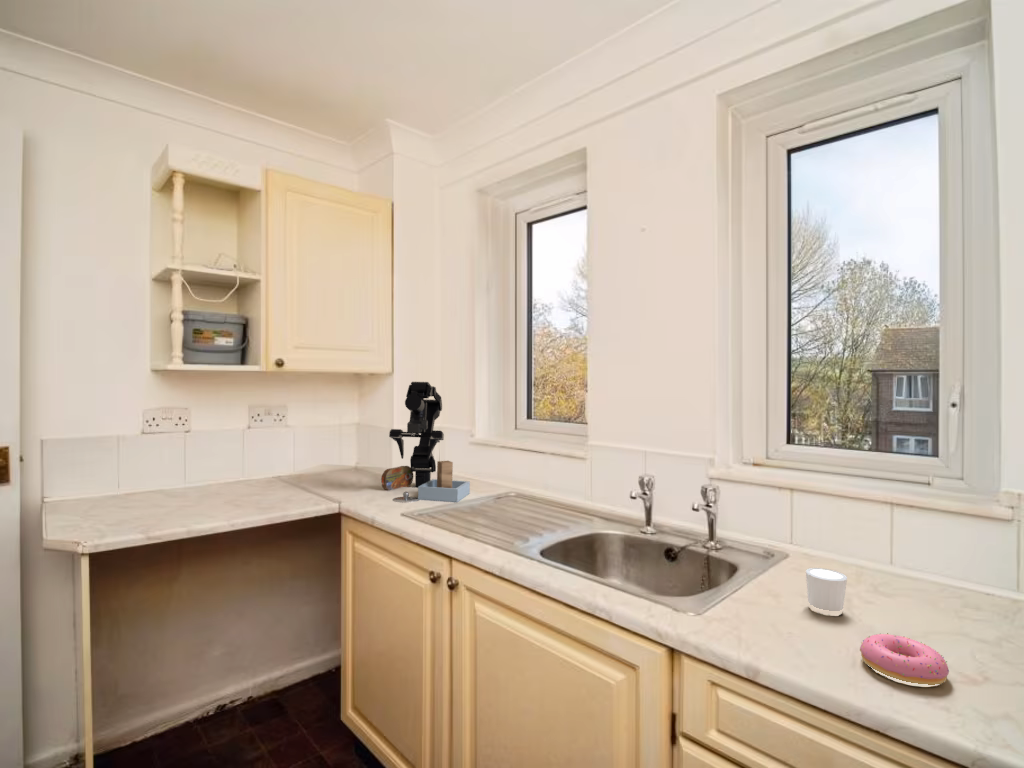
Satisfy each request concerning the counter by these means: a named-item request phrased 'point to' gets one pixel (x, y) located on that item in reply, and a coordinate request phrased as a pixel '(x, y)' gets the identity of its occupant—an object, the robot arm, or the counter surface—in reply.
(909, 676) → the doughnut
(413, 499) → the base
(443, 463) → the strut
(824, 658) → the counter surface
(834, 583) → the white cylinder
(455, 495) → the bin
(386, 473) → the tin
